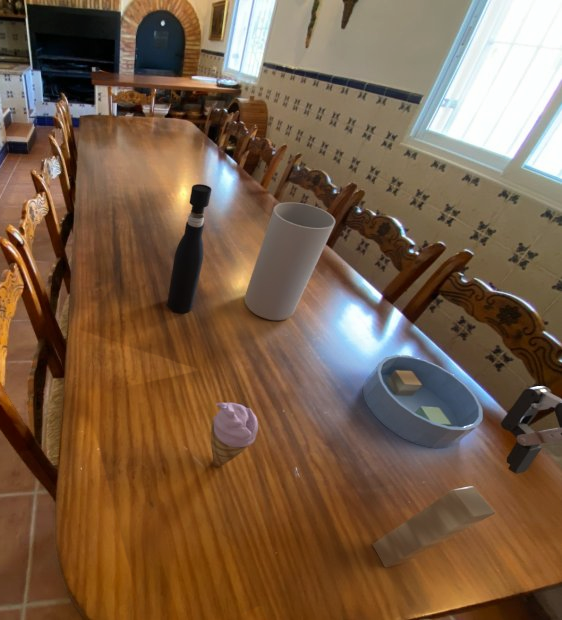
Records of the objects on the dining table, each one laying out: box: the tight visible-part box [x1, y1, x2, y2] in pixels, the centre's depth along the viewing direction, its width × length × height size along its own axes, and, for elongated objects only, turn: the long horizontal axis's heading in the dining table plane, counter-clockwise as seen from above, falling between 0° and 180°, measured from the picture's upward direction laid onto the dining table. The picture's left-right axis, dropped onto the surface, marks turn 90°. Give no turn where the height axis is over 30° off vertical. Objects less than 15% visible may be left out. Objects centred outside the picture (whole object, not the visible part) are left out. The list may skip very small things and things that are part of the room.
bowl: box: [362, 354, 484, 449], centre depth 68 cm, size 17×17×6 cm
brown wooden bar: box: [371, 485, 496, 568], centre depth 44 cm, size 3×3×18 cm
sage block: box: [415, 407, 451, 426], centre depth 65 cm, size 4×4×4 cm
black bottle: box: [166, 183, 212, 315], centre depth 79 cm, size 6×6×30 cm
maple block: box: [387, 370, 422, 396], centre depth 71 cm, size 4×4×4 cm
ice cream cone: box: [210, 402, 259, 468], centre depth 54 cm, size 7×6×15 cm
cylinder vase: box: [243, 201, 336, 321], centre depth 83 cm, size 12×12×25 cm
